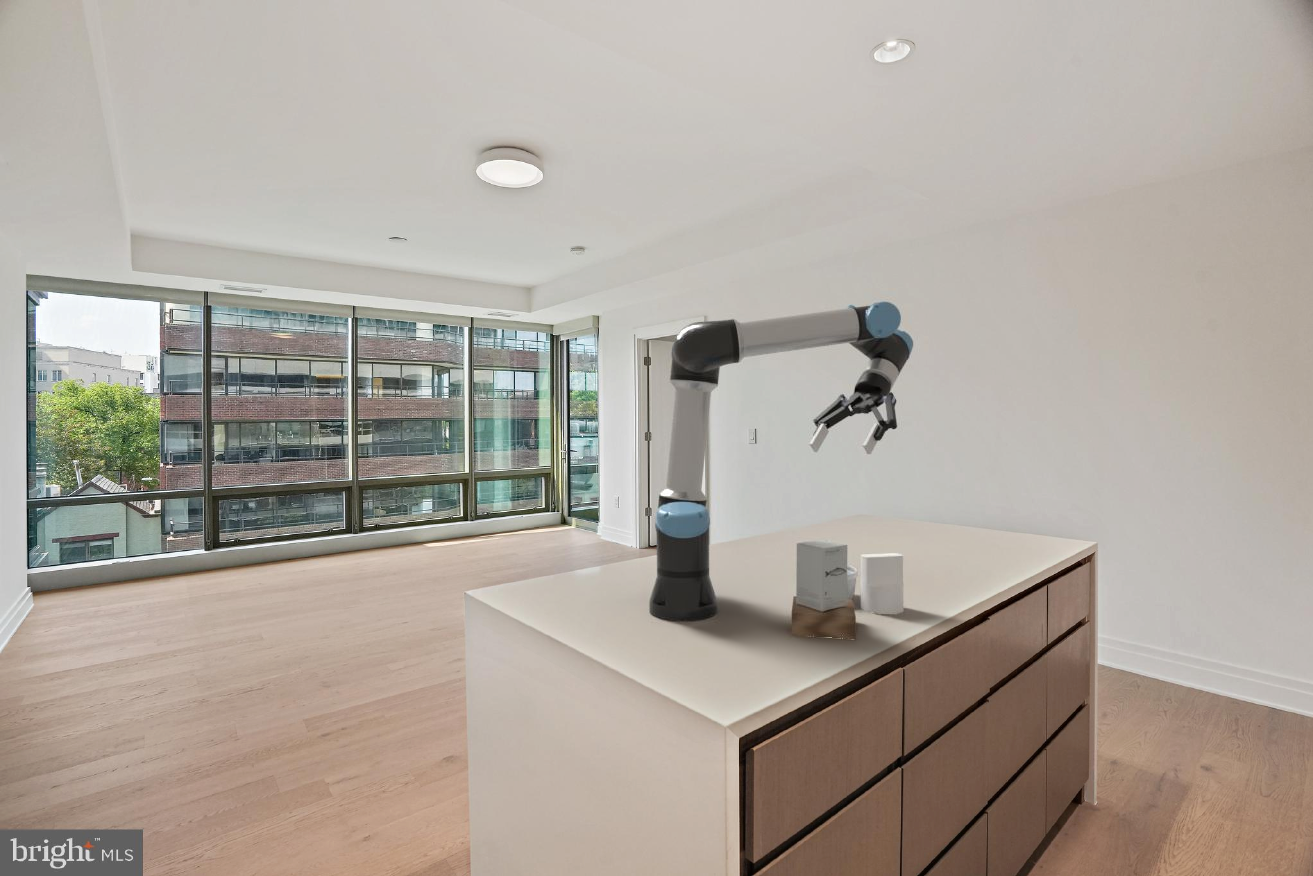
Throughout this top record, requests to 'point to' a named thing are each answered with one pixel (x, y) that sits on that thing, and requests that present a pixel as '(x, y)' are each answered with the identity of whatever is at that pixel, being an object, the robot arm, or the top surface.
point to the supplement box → (821, 575)
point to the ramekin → (851, 581)
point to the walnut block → (824, 621)
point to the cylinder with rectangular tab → (882, 583)
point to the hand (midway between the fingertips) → (838, 449)
